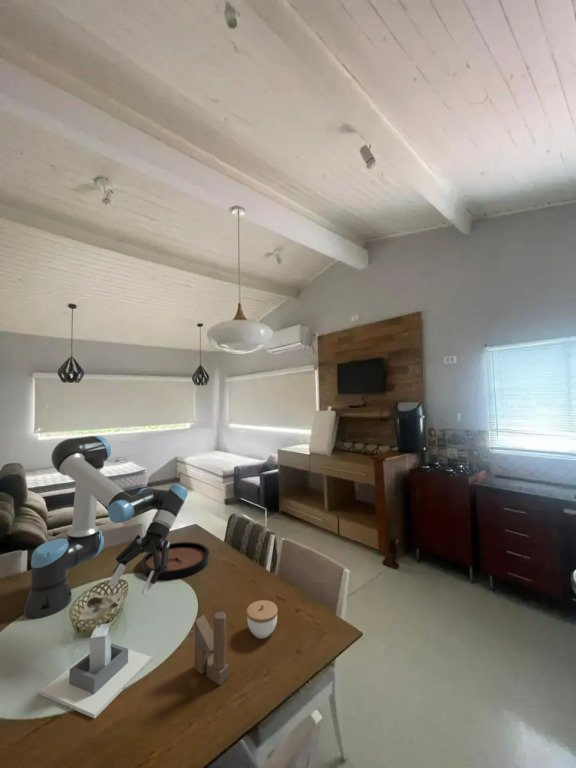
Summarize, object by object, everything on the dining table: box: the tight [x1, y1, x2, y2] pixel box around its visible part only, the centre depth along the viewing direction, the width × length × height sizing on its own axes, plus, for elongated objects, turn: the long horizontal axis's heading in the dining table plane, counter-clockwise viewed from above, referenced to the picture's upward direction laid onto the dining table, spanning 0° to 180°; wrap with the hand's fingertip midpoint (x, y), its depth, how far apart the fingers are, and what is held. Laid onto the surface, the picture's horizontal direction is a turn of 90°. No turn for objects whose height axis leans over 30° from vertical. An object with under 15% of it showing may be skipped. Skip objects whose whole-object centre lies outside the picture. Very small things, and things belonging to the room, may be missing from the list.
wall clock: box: [141, 541, 210, 582], centre depth 164 cm, size 31×4×31 cm
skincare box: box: [89, 622, 112, 675], centre depth 97 cm, size 6×4×12 cm
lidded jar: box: [246, 599, 279, 639], centre depth 115 cm, size 11×11×9 cm
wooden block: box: [194, 611, 229, 686], centre depth 98 cm, size 4×11×18 cm, turn 57°
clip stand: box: [40, 642, 153, 720], centre depth 97 cm, size 20×20×5 cm
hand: (127, 590), depth 107 cm, fingers open, 13 cm apart
